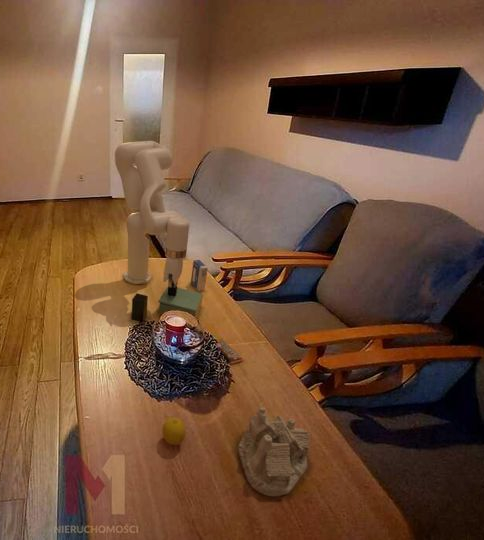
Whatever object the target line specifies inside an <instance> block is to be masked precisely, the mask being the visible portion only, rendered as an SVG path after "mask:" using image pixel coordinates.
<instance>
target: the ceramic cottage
mask: <svg viewBox="0 0 484 540" xmlns="http://www.w3.org/2000/svg"><path fill="white" fill-rule="evenodd" d="M295 424H296V420H295V419H294V418H289V419H288V421H286V420H285V418H284V417H283V416H282V415H280V414H279V415H276V417H274V418H273V419H270V418H269V417H268V415H267V414H266V408H265V407H264V406H261V407H259V409H258V411H257V412H255V413H254V414H253V415H251V416H249V427H248V426H247V428H246V429H247V430H245V434H244V435H243V436H242V438H241V440H240V441H239V443H238V446H237V453H238V455H239V456H238V457H239V459H240V462H241V465H242V469H243V471H244V475H245V477H246V480H247V482H248V483H249V485H250V486H251V487H252V488H253V489H254V490H256V491H257V492H258V493H260V494H262V495H263V496H268V497H280V496H284V495H288V494H290V493H291V492H292V490H293V489H294V488H295V486H296V484H297V483H298V482H299V480H300V478H301V477H302V476H303V475H304V473H305V472H306V471H307V469H308V464H309V463H308V457H307V456H306V455H307V454H308V452H309V449H310V448H311V443H310V442H311V439H310V433H309V431H308V430H307V429H303V428H302V427H300V428H299V427H295Z"/></svg>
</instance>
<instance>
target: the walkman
mask: <svg viewBox="0 0 484 540" xmlns="http://www.w3.org/2000/svg"><path fill="white" fill-rule="evenodd" d="M208 269H209V267H208V266H207V265H206V264H205V263H203V261H201V260H200V259H195V260H194V259H193V263H192V271H191V279H190V285H192V287H194V288H196V289H197V292H199V291H205V290H206V283H207V277H208V276H207V275H208Z"/></svg>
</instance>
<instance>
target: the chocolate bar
mask: <svg viewBox="0 0 484 540" xmlns="http://www.w3.org/2000/svg"><path fill="white" fill-rule="evenodd" d="M216 344H217V345H216V346H215V347H216V348H217V349H218V350H219V351H220V352H221V353H222V354H223V357H224V358H225V359H226V360H227V361H228V362H229V364H231V365H232V364H236V363H239V362H242V361H243V362H244V359H243V358H242V357H241V356H240V355H238V353H237V352H236V351H234V349H232V348H231V347H230V346H229V345H228V344H227V343H226V342H225V341H221V342H218V343H216Z"/></svg>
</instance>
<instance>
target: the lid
mask: <svg viewBox="0 0 484 540" xmlns="http://www.w3.org/2000/svg"><path fill="white" fill-rule="evenodd" d="M167 293H168V285H167V286H166V288H165V289H164V290H163V292H162V293H161V295H160V297H159V299H158V300H157V302H158V303H159V304H160V303H163V304H167V305H171V306H174V307H178V308H182V309H186V310H189V311H193V312H196V310H197V308H198V305H199V303H200V301H201V298H202V296H203V297H204V293H202V292H199V291H194V290H190V289H185V288H182V287H178V286H177V294H176V296H171V295H168V294H167ZM202 299H203V298H202Z"/></svg>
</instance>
